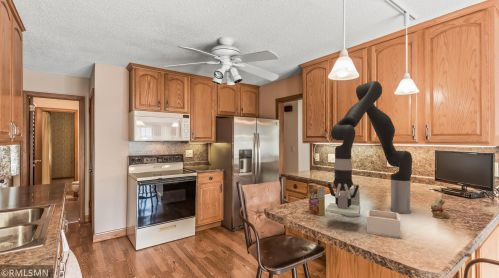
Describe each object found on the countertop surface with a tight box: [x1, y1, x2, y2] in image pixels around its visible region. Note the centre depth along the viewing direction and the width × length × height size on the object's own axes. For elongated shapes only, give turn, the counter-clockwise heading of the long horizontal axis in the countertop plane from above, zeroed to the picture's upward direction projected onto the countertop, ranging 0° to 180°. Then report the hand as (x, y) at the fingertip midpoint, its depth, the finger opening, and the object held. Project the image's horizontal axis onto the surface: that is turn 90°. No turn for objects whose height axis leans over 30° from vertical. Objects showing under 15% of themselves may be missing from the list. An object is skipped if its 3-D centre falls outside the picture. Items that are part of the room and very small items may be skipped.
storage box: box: [366, 209, 402, 239], centre depth 105 cm, size 12×12×7 cm
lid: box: [325, 194, 361, 217], centre depth 113 cm, size 14×14×7 cm
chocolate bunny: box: [430, 197, 451, 220], centre depth 124 cm, size 6×8×10 cm
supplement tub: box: [339, 186, 361, 218], centre depth 129 cm, size 10×10×15 cm
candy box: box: [307, 183, 326, 217], centre depth 131 cm, size 9×4×15 cm, turn 23°
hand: (343, 205), depth 113 cm, fingers closed on lid, 4 cm apart
